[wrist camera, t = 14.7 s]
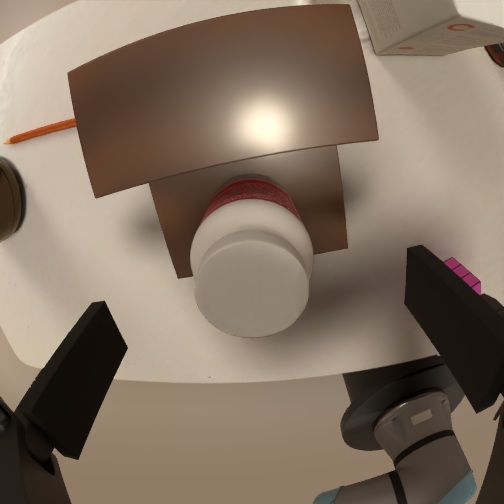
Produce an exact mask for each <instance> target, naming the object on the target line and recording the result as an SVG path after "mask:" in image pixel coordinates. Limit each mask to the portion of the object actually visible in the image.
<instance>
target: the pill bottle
mask: <svg viewBox="0 0 504 504" xmlns="http://www.w3.org/2000/svg"><path fill="white" fill-rule="evenodd" d="M313 261H314V255H313V248H312V243H311V240H310V236H309V234H308V232H307V230H306V228H305V227H304V225H303V223H302V221H301V219H300V217H299V215H298V213H297V210H296V209H295V206H294V205H293V203H292V201H291V199H290V197H289V195H288V194H287V192H286V191H285V190H284V189H283V188H282V187H281V186H280V185H279V184H278V183H276V182H275V181H273V180H272V179H269V178H267V177H264V176H260V175H243V176H239V177H236V178H234V179H232V180H230V181H228V182H227V183H225V184H224V185H223V186H222V187H221V188H220V189H219V190H218V191H217V192H216V194H215V195H214V197H213V199H212V201H211V203H210V205H209V207H208V209H207V211H206V213H205V215H204V217H203V219H202V221H201V223H200V225H199V227H198V229H197V231H196V234H195V236H194V239H193V242H192V246H191V253H190V262H191V269H192V273H193V276H194V278H195V298H196V302H197V304H198V307H199V309H200V311H201V312H202V314H203V315H204V317H205V318H206V319H207V320H208V321H209V322H210V323H211V324H212V325H214V326H215V327H216V328H218V329H220V330H222V331H223V332H225V333H228V334H231V335H234V336H238V337H244V338H260V337H266V336H270V335H273V334H276V333H278V332H280V331H282V330H284V329H286V328H287V327H289V326H290V325H291V324H293V323H294V322H295V321H296V320H297V319H298V318H299V316H300V315H301V313H302V312H303V310H304V308H305V306H306V304H307V300H308V296H309V279H310V276H311V273H312V269H313Z"/></svg>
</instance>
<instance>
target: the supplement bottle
mask: <svg viewBox="0 0 504 504" xmlns="http://www.w3.org/2000/svg"><path fill="white" fill-rule="evenodd" d="M486 47H487V49H488V51H489V52H490V54H491V56H492V57H493V58H494V60H495V61H496V62H497V63H499V64H500V65H501V66H503V67H504V43H498V44H492V45H486Z"/></svg>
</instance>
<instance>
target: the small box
mask: <svg viewBox="0 0 504 504" xmlns="http://www.w3.org/2000/svg"><path fill="white" fill-rule="evenodd" d="M358 3H359V5H360V8H361V11H362V14H363V16H364V19H365V22H366V25H367V28H368V31H369V34H370V37H371V40H372V44H373V47H374V50H375V53H376V55H437V56H444V55H447V54H451V53H455V52H459V51H462V50H466V49H471V48H476V47H481V46H486V45H492V44H498V43H504V0H358Z"/></svg>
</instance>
